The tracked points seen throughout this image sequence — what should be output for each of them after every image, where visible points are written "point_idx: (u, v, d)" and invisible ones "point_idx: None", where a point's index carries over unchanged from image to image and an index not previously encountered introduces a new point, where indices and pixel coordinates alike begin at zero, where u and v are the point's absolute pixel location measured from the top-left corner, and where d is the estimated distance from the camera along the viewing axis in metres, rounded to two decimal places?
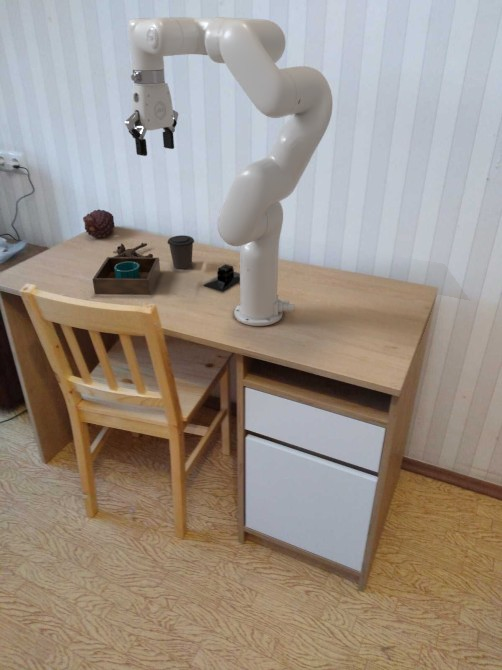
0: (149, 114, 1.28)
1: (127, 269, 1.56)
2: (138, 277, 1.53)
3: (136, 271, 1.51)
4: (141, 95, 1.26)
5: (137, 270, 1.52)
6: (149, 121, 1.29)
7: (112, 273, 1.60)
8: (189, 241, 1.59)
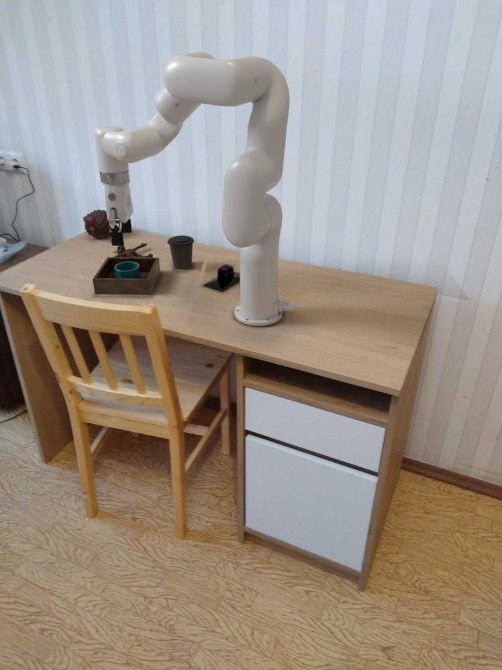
0: (125, 209, 1.40)
1: (127, 269, 1.56)
2: (138, 277, 1.53)
3: (136, 271, 1.51)
4: (118, 194, 1.37)
5: (137, 270, 1.52)
6: (125, 215, 1.41)
7: (112, 273, 1.60)
8: (189, 241, 1.59)
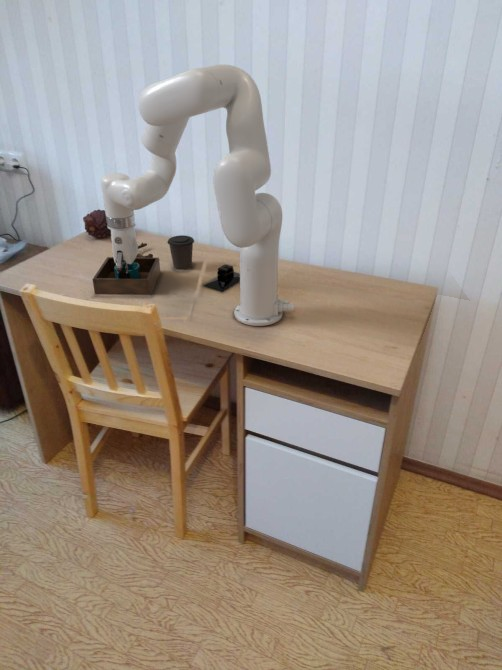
0: (130, 251, 1.46)
1: None
2: (138, 277, 1.53)
3: (136, 271, 1.51)
4: (124, 238, 1.43)
5: (137, 270, 1.52)
6: (131, 257, 1.47)
7: (112, 273, 1.60)
8: (189, 241, 1.59)
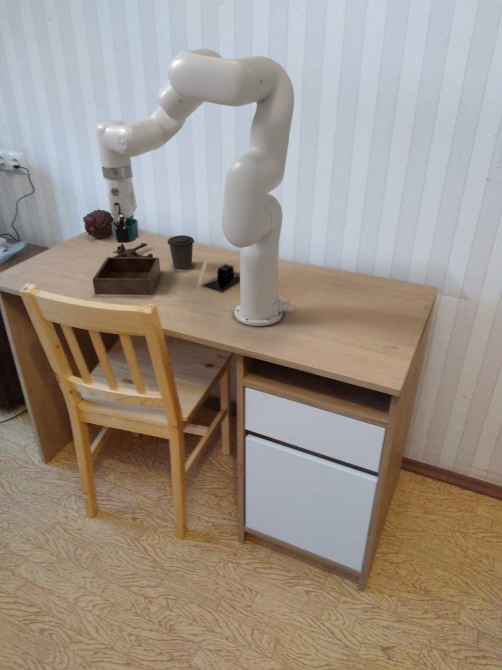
0: (128, 204, 1.39)
1: None
2: (137, 233, 1.46)
3: (134, 226, 1.44)
4: (121, 189, 1.36)
5: (135, 226, 1.45)
6: (129, 210, 1.40)
7: (112, 273, 1.60)
8: (189, 241, 1.59)
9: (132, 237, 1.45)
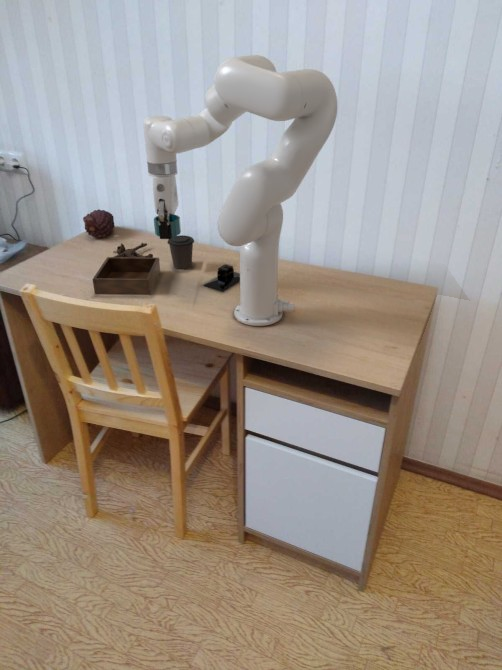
0: (173, 200, 1.38)
1: None
2: (179, 230, 1.45)
3: (176, 223, 1.43)
4: (166, 185, 1.35)
5: (178, 222, 1.44)
6: (173, 206, 1.39)
7: (112, 273, 1.60)
8: (189, 241, 1.59)
9: (174, 233, 1.44)
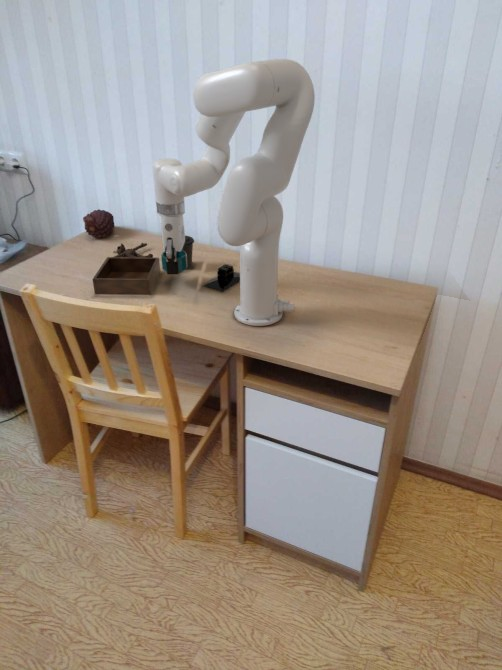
0: (180, 238, 1.44)
1: None
2: (185, 265, 1.50)
3: (183, 259, 1.49)
4: (174, 225, 1.41)
5: (185, 258, 1.49)
6: (180, 244, 1.44)
7: (112, 273, 1.60)
8: (189, 241, 1.59)
9: (181, 269, 1.50)
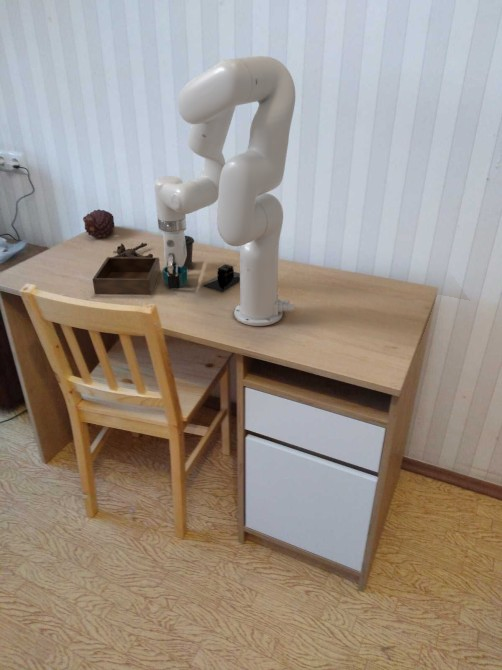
0: (182, 254, 1.46)
1: None
2: (186, 280, 1.53)
3: (184, 274, 1.51)
4: (176, 241, 1.43)
5: (186, 273, 1.52)
6: (182, 260, 1.47)
7: (112, 273, 1.60)
8: (189, 241, 1.59)
9: (182, 284, 1.52)
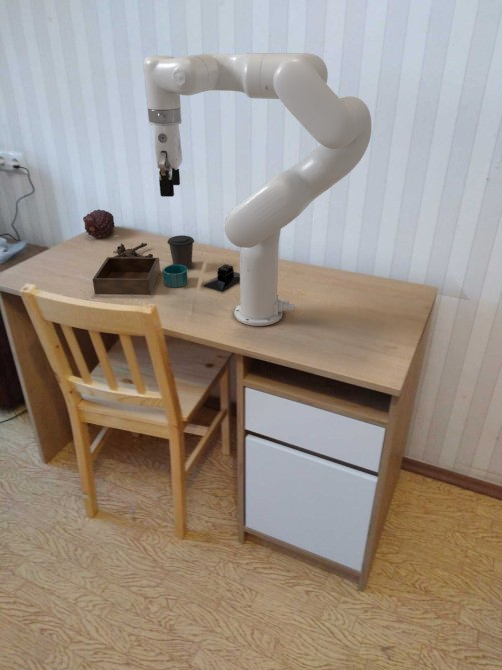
0: (176, 153, 1.23)
1: (174, 272, 1.56)
2: (186, 280, 1.53)
3: (184, 274, 1.51)
4: (169, 135, 1.20)
5: (186, 273, 1.52)
6: (176, 160, 1.24)
7: (112, 273, 1.60)
8: (189, 241, 1.59)
9: (182, 284, 1.52)
